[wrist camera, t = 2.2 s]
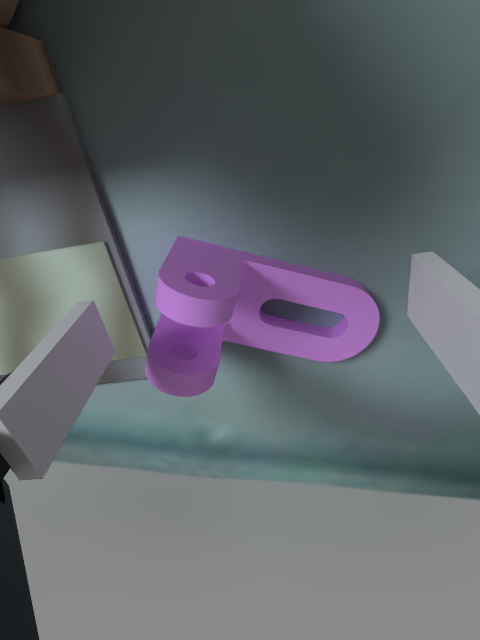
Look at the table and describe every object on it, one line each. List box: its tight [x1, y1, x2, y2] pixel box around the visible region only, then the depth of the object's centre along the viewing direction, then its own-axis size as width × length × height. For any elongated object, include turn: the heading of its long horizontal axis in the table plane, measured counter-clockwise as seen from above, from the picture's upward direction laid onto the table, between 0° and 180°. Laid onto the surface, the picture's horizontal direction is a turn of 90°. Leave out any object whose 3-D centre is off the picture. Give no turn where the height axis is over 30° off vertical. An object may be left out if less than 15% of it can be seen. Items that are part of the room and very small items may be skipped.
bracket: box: [145, 236, 379, 397], centre depth 19 cm, size 13×6×7 cm, turn 76°
